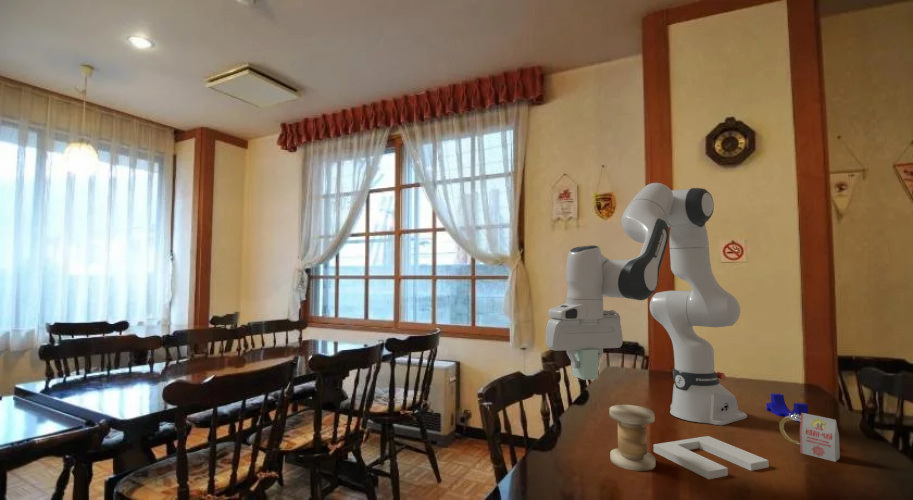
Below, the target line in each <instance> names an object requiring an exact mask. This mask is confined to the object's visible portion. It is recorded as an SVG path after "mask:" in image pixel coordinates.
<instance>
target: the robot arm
mask: <svg viewBox="0 0 913 500" xmlns="http://www.w3.org/2000/svg"><path fill="white" fill-rule="evenodd" d="M714 208H715V204H714V199H713V195H712V194H711V193H710V192H709V191H708V190H707V189H705V188H703V187H702V188H700V187H691V188H685V189H684V188H682V189H673V190H671V188H670V187H669V186H667V185H666V184H663V183H660V182H651V183H649V184H648V183H647V185H645V186H643V187H642V189H640V190H639V191H638V192H637V193H636V194H635V196H633V198H632V199H631V201H630V202H629V204H628V205H627V207H626V208H625V210H624V211H623V213H622V216H621V227H622V229H623V232H624V233H625V234H626V235H627V237H628V238H630V239H631V240H633V241H635V242H637V243H641V244H642V247H641V250H640V251H639V252H640V253H639V255H638V256H635V257H632V258H625V259H609V258H608V257H606V256H604V255H603V254H602V253H601V252H602V251H601V249H600V248H601V247H600V246H597V245H583V246H576V247H574V248H571V249H570V250H569V252H568V254H567V259H566V266H565V267H566V268H565V269H566V271H565V281H566V286H567V292H566V297H565V300H566V301H565V303H561V304H559V305H556V306H554V307H551V308H549V309H548V311H547V314H548V317H549V318H550V319H549V320H547V322H546V327H545V340H544V341H545V346H546V347H547V349H548V350H552V351H555V352H556V351H558V352H559V351H566V355H567V357H568V358H569V360H570V368H571V369H572V368H574V369H576V368H580V361H578V360H577V359H576V357H575V355H574V354H576V350H581V349H598V368H599V367H600V360H601V358H602V356H603V354H604V349H616V348H619V349H620V348H621V347H622V345H623V342H624V340H623V339H624V338H623V330H622V324H621V316H620V314H619V313H618V312H616V310H613V309H611V310H604V297H605V298H606V297H608V298H620V299H628V300H629V299H631V300H634V301H635V300H636V301H645V300H647V299H648V298H650V296H652V297H651V299H650V301H649V312H650V314H651V316H652V318H653V319H654V320H656V321H657V322H658V323H659V324H660V325H661V326H662V327H663V328H664V329H665V331H666V332H667V334H668V336H669V338H670V339H671V343H672V349H673V359H674V368H673V369H672V375H673V376H672V378H673V382H674V383H673V389H672V399H671V400H672V401H671V403H670V411H669V413H670V414H671V415H672V416H673V417H676V418H678V419H682V420H685V421H689V422H696V423H700V424H701V423H702V424H711V425H716V426H725V425H728V424H730V423H734V422H739V421H741V420H745V419H747V418H748V414H746V413H745V412H744V411H742V410H739V408H738V407H739V406H738V401H737V398H736V396H735V395H734V394H733V393H732V392H730V391H729V390H728V389H726V388H725V386H723V385H722V384H721V383H720V380H725V378H726V374H725V372H721V371H717V372H716V371H715V354H714V353H715V352H714V351H715V350H714V348H713V346H712V344H711V343H710V342H709V341H708V340H706V339H705V338H702V337H701V336H699V335H698V334H697V333H696V332H695V330H694V326H695V327H706V328H726V327H730V326H731V327H732V326H734V325H735V324H736V323H737V321H738V320H739V319H740V315H741V306H740V303H739V301H738V300H737V298H735V296H734V295H732V294H731V293H730V292H728V291H727V290H725V289H724V288H723V287H722V285H720V283H719V282H718V281H717V279H716V278H715V276H714V274H713V270H712V265H711V257H710V256H711V255H710V243H709V242H710V241H709V235H708V230H707V229H708V228H707V226H706V223H707V222H708V221H709V220H710V219H711V217H712V215H713V213H714ZM669 229H670V230H669ZM668 242H669V258H670V259H669V260H670V271H671V272H672V274H673V275H674V276H675V277H676V278H678V279H680V280H682V281H685V282H686V283H687V284H688V285H689V286H690V289H691V290H665V291H659V292H656V293H655V291H656V290H657V288H658V283H659V275H660V269H661V266H662V262H663V260H664V255H665V252H666V249H667V245H668ZM653 293H654V294H653Z"/></svg>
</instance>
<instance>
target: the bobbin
mask: <svg viewBox="0 0 913 500" xmlns="http://www.w3.org/2000/svg"><path fill="white" fill-rule="evenodd" d="M609 417H610V418H611V419H612V420H614V421H617V448H613V449H611V451H610V452H609V455H610V457H609V459H610V462H611V463H612V464H613V465H615V466H617V467H619V468H621V469H625V470H628V471H629V470H630V471H635V472H644V471H645V472H647V471H652V470H654V469H655V467H656V463H657V462H656V457H655V456H654V455H653V454H652V453H650V452H648V443H647V442H648V441H647V440H648V439H647V438H648V437H647V436H648V435H647V434H648V433H647V425H650V424H653V423H655V420H656V419H655V412H654V411H653V410H651V409H649V408H646V407H644V406H639V405H633V404H615V405H611V406H610V407H609Z"/></svg>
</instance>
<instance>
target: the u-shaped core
mask: <svg viewBox="0 0 913 500" xmlns="http://www.w3.org/2000/svg"><path fill="white" fill-rule="evenodd" d="M696 449H699V450H701V451H702V450H703V451H704V452H707V453H709V454H712V455H714V456H716V457H718V458H720V459H723V460H724V461H728V462H730V463H732V464H734V465H736V466H738V467H741V468H743V469H746V470H749V471H750V472H753V471H757V470H762V469H767V468H769V466H770V465H769V459H766V458H764V457H762V456H758V455H757V454H753V453H751V452H749V451H746V450H744V449H742V448H739V447H737V446H734V445H731V444H729V443H726V442H724V441H721V440H719V439H717V438H714V437H712V436H709V435H706V436H699V437H698V436H697V437H693V438H687V439H680V440H675V441H674V440H673V441H667V442H666V441H665V442H660V443H655V444H653V453H654V454H657V455H659V456H661V457H663V458H665V459H667V460H669V461H672V462H674V463H675V464H677V465H679V466H681V467H683V468H685V469H687V470H689V471H691V472H693V473H695V474H697V475H699V476H702V477H703V478H705V479H707V480H713V479H717V478H722V477H727V476H728V475H729V473H728V472H729V471H728V470H729V469H728V467H727V466H724V465H722V464H721V463H717V462H716V461H714V460H711V459H709V458H707V457H704V456H702V455H700V454H698V453H696V452H695V451H694V452H693V451H691V450H696Z"/></svg>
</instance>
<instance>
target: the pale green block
mask: <svg viewBox="0 0 913 500" xmlns="http://www.w3.org/2000/svg"><path fill="white" fill-rule="evenodd" d="M574 355H575V357H576V359H577V360H578V361H580V368H576V369H574V368H572V367H571V369H572V370H571V371H572V376H573V377H576V378H578V379H580V380H583V381H586V380H587V381H588V380H589V381H590V380H598V379H599V367H598V349H581V350H576V354H574Z"/></svg>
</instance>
